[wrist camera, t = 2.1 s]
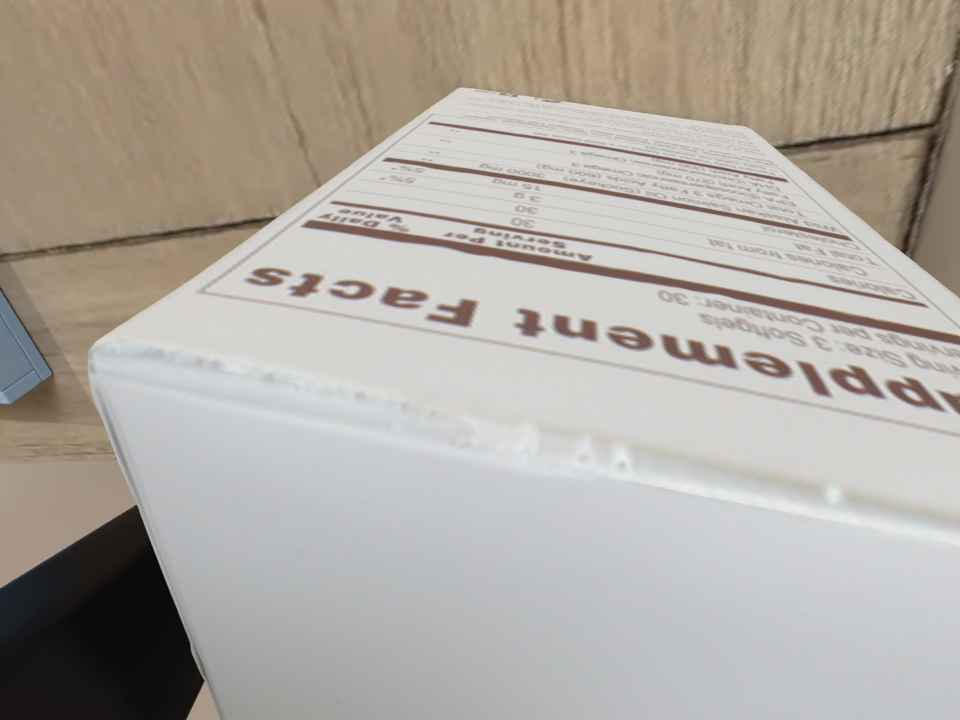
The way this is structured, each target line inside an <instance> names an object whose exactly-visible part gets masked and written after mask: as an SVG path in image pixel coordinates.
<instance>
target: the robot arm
mask: <svg viewBox="0 0 960 720" xmlns="http://www.w3.org/2000/svg"><path fill="white" fill-rule="evenodd" d="M204 681H205V680H204V679H203V677H202V675H201V673H200V671H199V669H198V666H197V664H196V661H195V659H194V657H193V655H192V652H191V644H190V640H189V638H188V635H187V633H186V630H185V628H184V625H183V623H182V620H181V618H180V615H179V612H178V610H177V607H176V605H175V602H174V600H173V597H172V595H171V592H170V590H169V587H168V585H167V582H166V580H165V577H164V575H163V572H162V570H161V567H160V564H159V562H158V559H157V557H156V554H155V551H154V549H153V546H152V543H151V541H150V538H149V536H148V533H147V530H146V527H145V525H144V522H143V519H142V517H141V514H140V511H139V509H138V506H137V505H135V506H134V507H132V508H131V509H129V510H127V511H126V512H124V513H122V514H121V515H119V516H117V517H116V518H114V519H112V520H111V521H109V522H108V523H106V524H104V525H103V526H101V527H100V528H98V529H96V530H94V531H93V532H91V533H90V534H88V535H86V536H85V537H83V538H81V539H80V540H78V541H77V542H75V543H73V544H72V545H70V546H68V547H67V548H66V549H64V550H62V551H60V552H59V553H57V554H55V555H54V556H52V557H51V558H49V559H47V560H46V561H44V562H42V563H41V564H39V565H37V566H36V567H34V568H33V569H31V570H29V571H28V572H26V573H24V574H23V575H21V576H20V577H18V578H16V579H15V580H13V581H11V582H10V583H8V584H7V585H5V586H3V587H2V588H0V720H186V719H187V717H188V715H189V713H190V711H191V708H192V706H193V704H194V702H195V700H196V698H197V696H198V694H199V692H200V690H201V688H202V685H203V683H204Z"/></svg>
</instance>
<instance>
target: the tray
mask: <svg viewBox="0 0 960 720" xmlns="http://www.w3.org/2000/svg"><path fill="white" fill-rule="evenodd" d="M51 375H52V372H51V370H50V369H49V367H48V366H47V364H46V362H45V361H44V359H43V358H42V356H41V354H40V353H39V351H38V349H37V348H36V346H35V345H34V343H33V341H32V340H31V338H30V337H29V335H28V333H27V332H26V330H25V329H24V327H23V325H22V324H21V322H20V321H19V319H18V317H17V316H16V314H15V312H14V311H13V309H12V308H11V306H10V304H9V303H8V301H7V300H6V298H5V296H4V295H3V293H2V292H1V290H0V404H12V403H13V402H15V401H16V400H17V399H19V398H20V397H21V396H23V395H24V394H26V393H27V392H28V391H30V390H31V389H33V388H34V387H35V386H37V385H38V384H39V383H41V382H42V381H44V380H45V379H47V378H48V377H49V376H51Z"/></svg>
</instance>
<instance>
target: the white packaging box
mask: <svg viewBox="0 0 960 720" xmlns="http://www.w3.org/2000/svg"><path fill="white" fill-rule="evenodd" d="M88 380H89V384H90V388H91V392H92V396H93V400H94V403H95V405H96V407H97V409H98V411H99V413H100V416H101V418H102V420H103V422H104V425H105V428H106V431H107V433H108V436H109V439H110V441H111V444H112V447H113V449H114V452H115V455H116V458H117V460H118V463H119V465H120V467H121V470H122V472H123V474H124V477H125V479H126V481H127V483H128V485H129V488H130V490H131V492H132V494H133V497H134V499H135V501H136V504H137V506H138V509H139V511H140V514H141V517H142V519H143V522H144V525H145V527H146V530H147V533H148V536H149V538H150V541H151V543H152V546H153V549H154V551H155V554H156V557H157V559H158V562H159V564H160V567H161V570H162V572H163V575H164V577H165V580H166V582H167V585H168V587H169V590H170V592H171V595H172V597H173V600H174V602H175V605H176V607H177V610H178V612H179V615H180V618H181V620H182V623H183V625H184V628H185V630H186V633H187V635H188V638H189V640H190V644H191V652H192V655H193V657H194V659H195V661H196V664H197V666H198V669H199V671H200V673H201V675H202V677H203V679H204V680H205V682H206V685H207V687H208V690H209V692H210V695H211V698H212V700H213V703H214V705H215V707H216V710H217V712H218V714H219V717H220V719H221V720H960V298H959V297H957V296H956V295H955V294H954V293H952V292H951V291H950V290H948V289H947V288H946V287H945V286H943V285H942V284H941V283H940V282H938V281H937V280H936V279H934V278H933V277H932V276H931V275H929V274H928V273H927V272H926V271H924V270H923V269H922V268H921V267H920V266H918V265H917V264H916V263H915V262H913V261H912V260H911V259H910V258H908V257H907V256H906V255H905V254H903V253H902V252H901V251H899V250H898V249H897V248H895V247H894V246H893V245H891V244H890V243H889V242H887V241H886V240H885V239H884V238H883V237H881V236H880V235H879V234H878V233H877V232H876V231H875V230H873V229H872V228H871V227H870V226H869V225H868V224H866V223H865V222H864V221H863V220H862V219H860V218H859V217H858V216H857V215H855V214H854V213H853V212H851V211H850V210H849V209H848V208H846V207H845V206H844V205H843V204H842V203H840V202H839V201H838V200H837V199H836V198H835V197H833V196H832V195H831V194H830V193H829V192H828V191H826V190H825V189H824V188H823V187H822V186H820V185H819V184H818V183H816V182H815V181H814V180H813V179H812V178H811V177H809V176H808V175H807V174H806V173H805V172H804V171H802V170H800V169H799V168H798V167H797V166H796V165H794V164H793V163H792V162H791V161H790V160H788V159H787V158H786V157H785V156H784V155H782V154H781V153H780V152H779V151H778V150H776V149H775V148H774V147H773V146H771V145H770V144H769V143H768V142H767V141H765V140H764V139H763V138H762V137H761V136H759V135H758V134H757V133H756V132H754V131H753V130H751V129H750V128H748V127H745V126H735V125H725V124H719V123H711V122H704V121H697V120H689V119H682V118H675V117H668V116H661V115H654V114H647V113H640V112H633V111H626V110H619V109H612V108H605V107H598V106H591V105H584V104H577V103H571V102H564V101H557V100H550V99H543V98H536V97H529V96H522V95H515V94H508V93H501V92H493V91H486V90H479V89H471V88H461V87H460V88H458V89H456V90H455V91H454V92H452V93H451V94H449V95H448V96H446V97H445V98H444V99H442V100H441V101H439V102H437V103H436V104H434V105H433V106H431V107H430V108H429V109H427V110H426V111H425V112H423V113H422V114H421V115H419V116H418V117H416V118H415V119H414V120H412V121H411V122H409V123H408V124H406V125H405V126H403V127H402V128H401V129H399V130H398V131H397V132H395V133H394V134H392V135H391V136H390V137H388V138H387V139H386V140H384V141H383V142H382V143H380V144H379V145H377V146H376V147H375V148H373V149H372V150H370V151H369V152H368V153H366V154H365V155H364V156H362V157H360V158H359V159H358V160H356V161H355V162H354V163H353V164H351V165H350V166H349V167H347V168H346V169H344V170H343V171H341V172H340V173H339V174H338V175H336V176H335V177H334V178H332V179H331V180H329V181H328V182H327V183H325V184H324V185H322V186H321V187H320V188H318V189H317V190H315V191H314V192H313V193H311V194H310V195H309V196H307V197H306V198H304V199H303V200H302V201H300V202H299V203H297V204H296V205H295V206H293V207H292V208H290V209H289V210H288V211H286V212H285V213H283V214H282V215H281V216H279V217H278V218H276V219H275V220H274V221H272V222H271V223H270V224H268V225H267V226H265V227H264V228H263V229H261V230H260V231H258V232H257V233H256V234H254V235H253V236H252V237H250V238H249V239H247V240H246V241H245V242H243V243H242V244H240V245H239V246H238V247H236V248H235V249H233V250H232V251H231V252H229V253H228V254H226V255H225V256H224V257H222V258H221V259H219V260H218V261H216V262H215V263H214V264H212V265H211V266H209V267H208V268H207V269H205V270H204V271H202V272H201V273H200V274H198V275H197V276H195V277H194V278H193V279H191V280H190V281H188V282H187V283H185V284H183V285H182V286H180V287H179V288H177V289H176V290H174V291H173V292H171V293H170V294H168V295H166V296H165V297H163V298H162V299H160V300H159V301H157V302H156V303H154V304H153V305H151V306H149V307H148V308H146V309H145V310H143V311H142V312H140V313H138V314H137V315H135V316H134V317H132V318H131V319H129V320H127V321H126V322H124V323H123V324H121V325H120V326H118V327H117V328H115V329H114V330H112V331H111V332H109V333H108V334H106V335H105V336H103V337H102V338H100V339H99V340H98V341H96V342H95V344H94V345H93V346H92V348H91V349H90V350H89V352H88Z"/></svg>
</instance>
